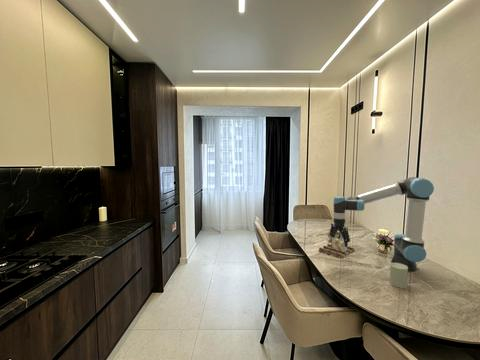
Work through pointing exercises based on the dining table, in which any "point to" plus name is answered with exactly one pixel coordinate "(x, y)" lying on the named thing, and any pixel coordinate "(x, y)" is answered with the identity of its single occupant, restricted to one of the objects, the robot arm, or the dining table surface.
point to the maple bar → (337, 244)
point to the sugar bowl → (338, 235)
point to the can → (398, 275)
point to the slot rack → (335, 251)
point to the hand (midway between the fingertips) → (339, 248)
